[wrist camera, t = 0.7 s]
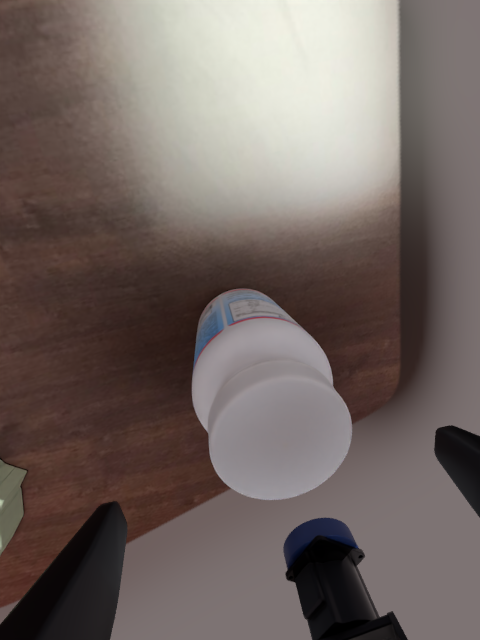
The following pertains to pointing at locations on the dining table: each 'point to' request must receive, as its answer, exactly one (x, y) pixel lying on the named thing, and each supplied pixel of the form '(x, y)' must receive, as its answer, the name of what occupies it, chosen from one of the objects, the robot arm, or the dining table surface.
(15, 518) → the socket pad
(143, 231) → the dining table surface
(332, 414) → the pill bottle
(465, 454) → the robot arm
